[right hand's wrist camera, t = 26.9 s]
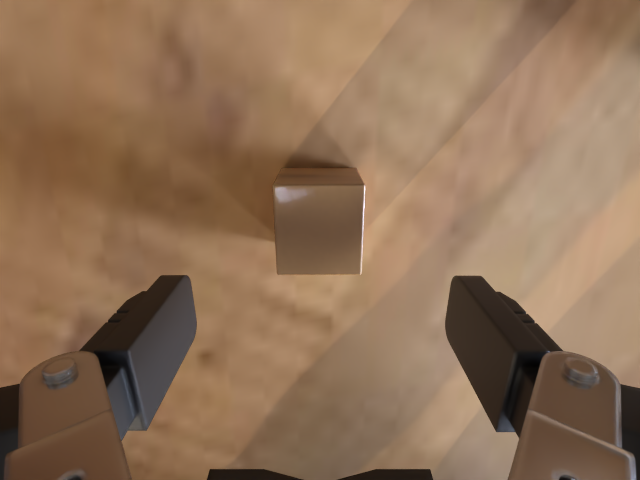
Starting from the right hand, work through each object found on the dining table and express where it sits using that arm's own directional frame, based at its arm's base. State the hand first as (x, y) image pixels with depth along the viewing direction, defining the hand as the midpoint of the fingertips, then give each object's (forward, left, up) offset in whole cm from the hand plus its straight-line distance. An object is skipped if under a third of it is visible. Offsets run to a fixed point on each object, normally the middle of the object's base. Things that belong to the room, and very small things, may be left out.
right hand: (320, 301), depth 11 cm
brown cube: (0, 0, -10) cm, 10 cm away
